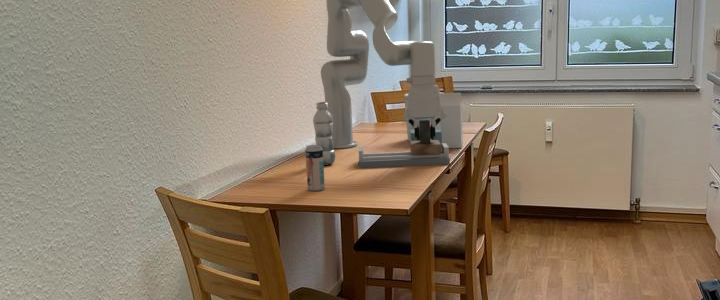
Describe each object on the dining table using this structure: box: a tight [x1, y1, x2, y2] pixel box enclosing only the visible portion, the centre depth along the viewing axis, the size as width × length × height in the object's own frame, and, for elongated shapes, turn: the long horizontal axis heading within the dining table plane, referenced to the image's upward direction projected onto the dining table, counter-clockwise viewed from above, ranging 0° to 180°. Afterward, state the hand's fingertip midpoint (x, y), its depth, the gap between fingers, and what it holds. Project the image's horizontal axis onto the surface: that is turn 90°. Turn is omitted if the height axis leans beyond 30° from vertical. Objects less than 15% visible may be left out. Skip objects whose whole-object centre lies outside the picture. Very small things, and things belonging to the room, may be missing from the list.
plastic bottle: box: [312, 101, 336, 166], centre depth 226 cm, size 6×7×20 cm
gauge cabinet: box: [409, 128, 442, 150], centre depth 237 cm, size 10×8×8 cm
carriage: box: [409, 119, 441, 155], centre depth 224 cm, size 9×9×10 cm
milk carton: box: [440, 92, 464, 149], centre depth 249 cm, size 7×7×19 cm
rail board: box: [358, 143, 451, 169], centre depth 225 cm, size 28×12×5 cm, turn 89°
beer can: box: [304, 144, 326, 192], centre depth 191 cm, size 5×5×12 cm
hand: (425, 138), depth 224 cm, fingers open, 3 cm apart
